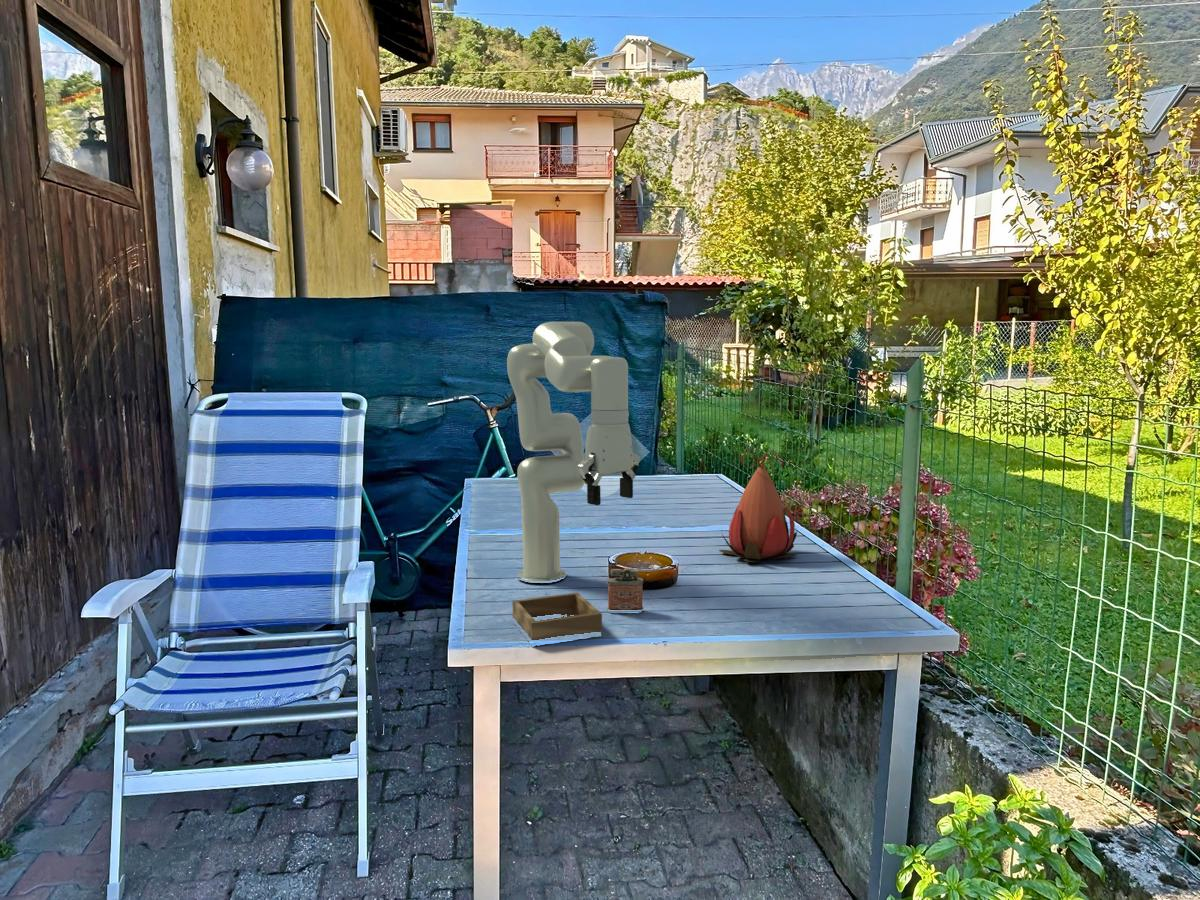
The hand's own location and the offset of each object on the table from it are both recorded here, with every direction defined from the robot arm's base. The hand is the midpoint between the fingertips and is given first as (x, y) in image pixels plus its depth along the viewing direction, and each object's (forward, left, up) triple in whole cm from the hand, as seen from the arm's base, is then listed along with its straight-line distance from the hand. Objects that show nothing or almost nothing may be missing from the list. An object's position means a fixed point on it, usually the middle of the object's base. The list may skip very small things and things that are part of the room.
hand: (610, 500), depth 165 cm
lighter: (-10, +7, -28) cm, 31 cm away
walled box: (-5, -11, -28) cm, 30 cm away
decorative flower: (-38, +59, -28) cm, 76 cm away
